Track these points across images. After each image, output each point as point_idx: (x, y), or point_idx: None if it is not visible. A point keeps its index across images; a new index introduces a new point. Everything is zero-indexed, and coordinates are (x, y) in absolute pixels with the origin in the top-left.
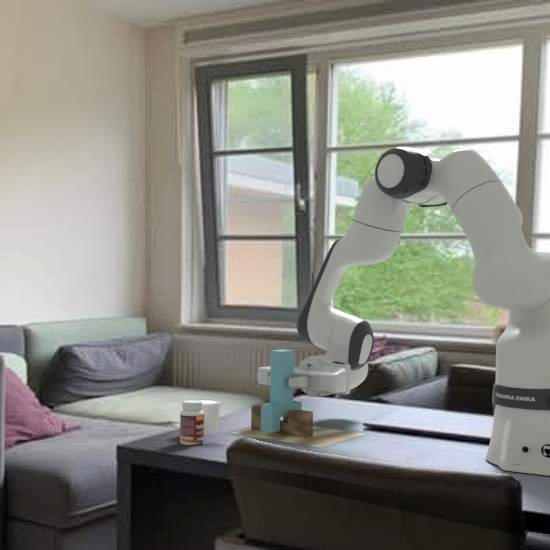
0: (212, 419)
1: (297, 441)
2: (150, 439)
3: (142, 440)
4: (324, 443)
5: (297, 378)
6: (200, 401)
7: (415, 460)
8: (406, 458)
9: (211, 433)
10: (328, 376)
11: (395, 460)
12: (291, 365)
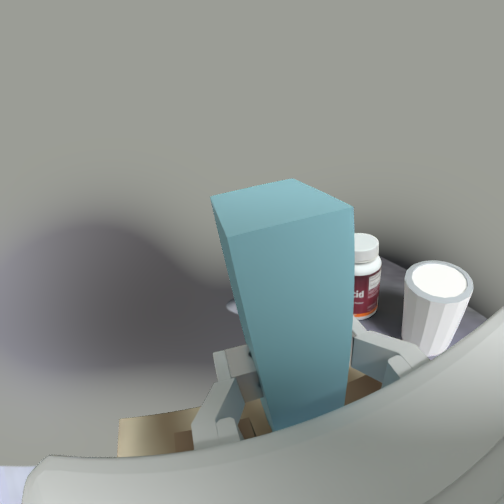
0: (406, 315)
1: (188, 425)
2: (399, 274)
3: (395, 267)
4: (132, 452)
5: (213, 388)
6: (356, 248)
7: (7, 485)
8: (17, 491)
9: (403, 337)
10: (56, 455)
11: (25, 471)
12: (246, 326)
